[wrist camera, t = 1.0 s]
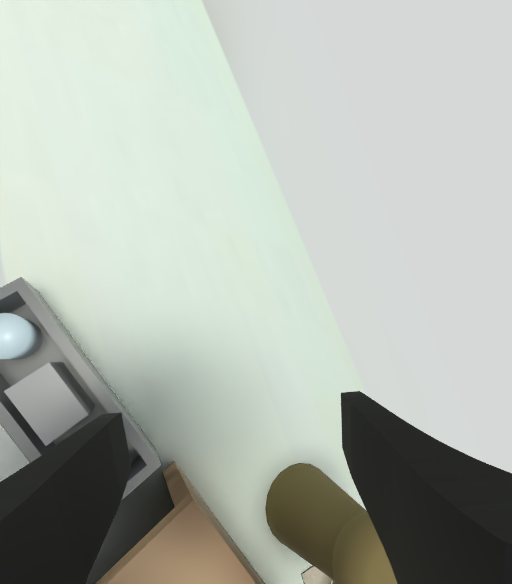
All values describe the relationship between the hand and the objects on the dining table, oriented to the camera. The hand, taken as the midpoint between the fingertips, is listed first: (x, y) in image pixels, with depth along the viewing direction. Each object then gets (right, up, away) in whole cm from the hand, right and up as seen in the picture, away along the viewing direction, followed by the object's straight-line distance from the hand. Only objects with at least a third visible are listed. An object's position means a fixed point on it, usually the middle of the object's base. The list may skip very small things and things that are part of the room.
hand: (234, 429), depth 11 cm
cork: (+4, -13, +17) cm, 21 cm away
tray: (-12, -2, +12) cm, 17 cm away
